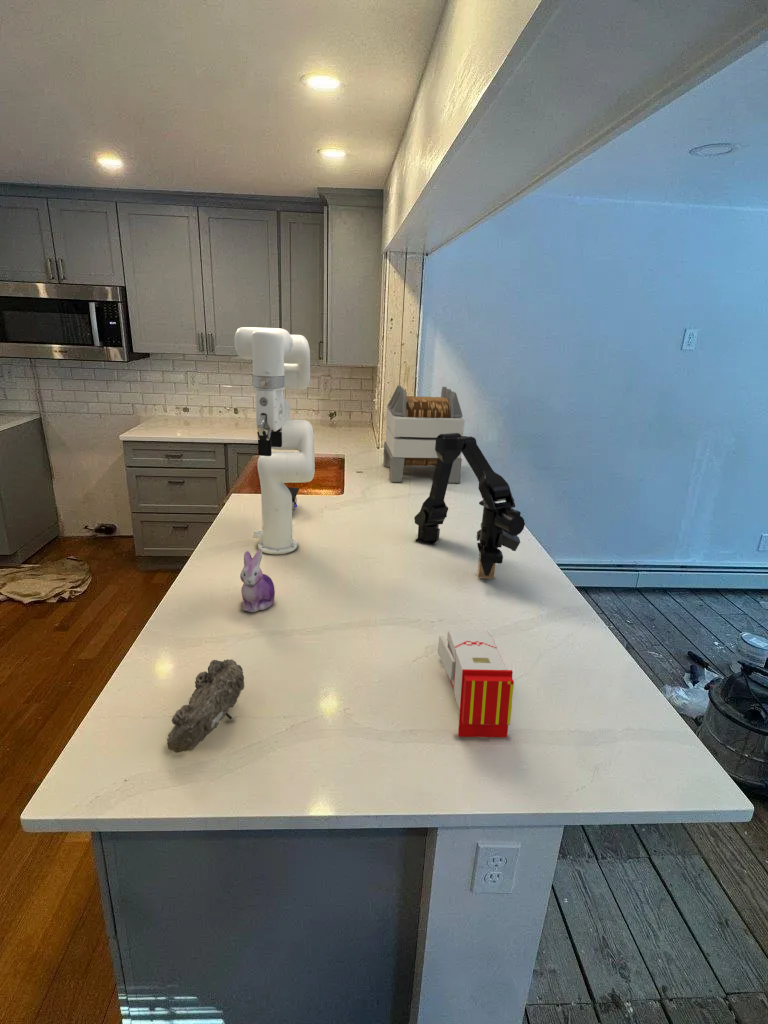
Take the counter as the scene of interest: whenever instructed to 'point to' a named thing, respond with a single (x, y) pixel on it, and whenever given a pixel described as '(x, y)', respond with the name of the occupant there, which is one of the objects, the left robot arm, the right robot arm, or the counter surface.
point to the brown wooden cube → (481, 572)
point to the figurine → (255, 584)
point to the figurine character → (293, 496)
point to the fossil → (206, 705)
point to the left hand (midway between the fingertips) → (270, 451)
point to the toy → (478, 682)
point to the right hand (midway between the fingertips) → (486, 572)
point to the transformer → (420, 430)
